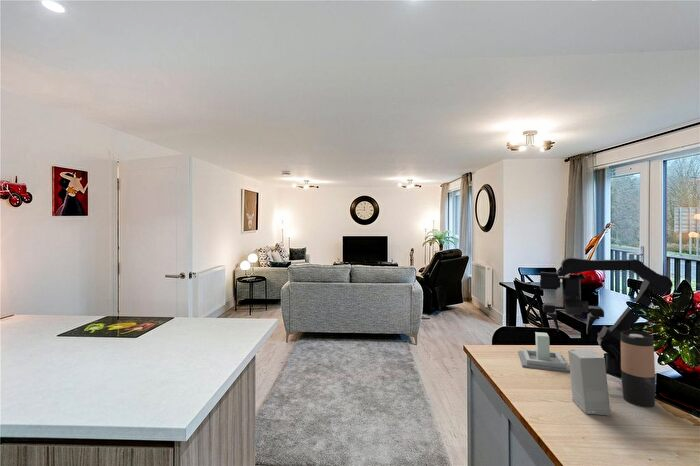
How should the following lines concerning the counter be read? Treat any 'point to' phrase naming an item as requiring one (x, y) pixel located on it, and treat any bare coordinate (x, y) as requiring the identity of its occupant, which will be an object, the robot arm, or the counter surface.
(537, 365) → the charging dock
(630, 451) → the counter surface
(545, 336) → the rectangular block
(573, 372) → the skincare box
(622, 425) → the counter surface
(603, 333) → the robot arm
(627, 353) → the travel mug
